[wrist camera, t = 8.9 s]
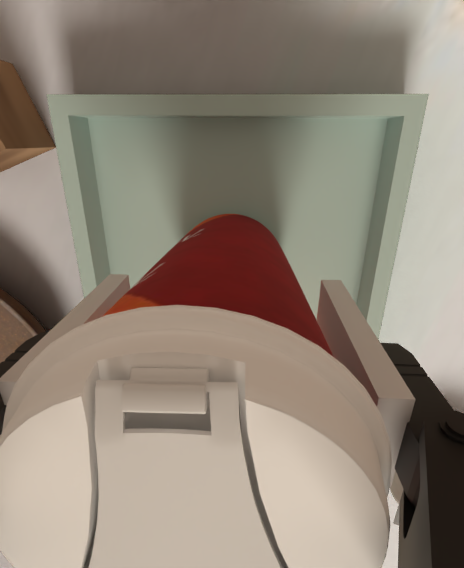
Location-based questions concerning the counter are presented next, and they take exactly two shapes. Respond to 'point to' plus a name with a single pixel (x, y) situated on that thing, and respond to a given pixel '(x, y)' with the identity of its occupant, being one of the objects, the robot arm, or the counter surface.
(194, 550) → the paper cup
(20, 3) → the counter surface
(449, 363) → the counter surface
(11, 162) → the walnut block
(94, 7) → the counter surface
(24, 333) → the plant saucer
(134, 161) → the tray
